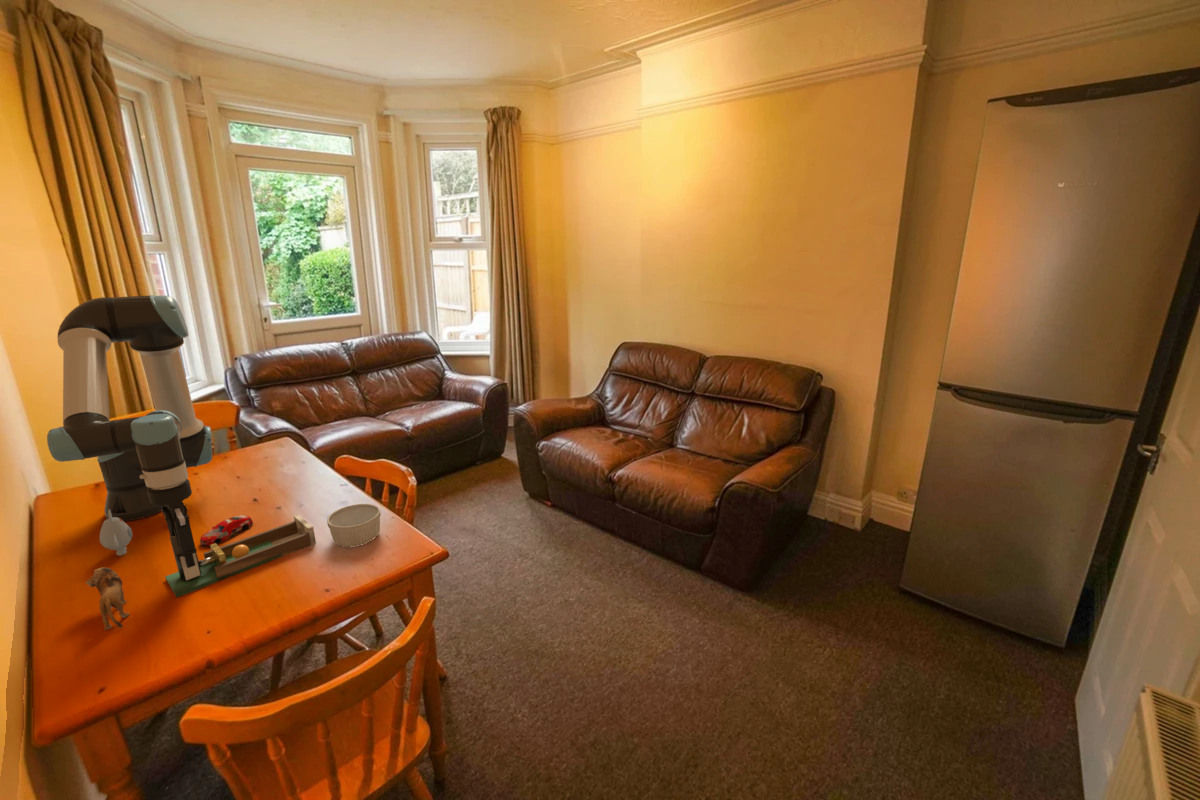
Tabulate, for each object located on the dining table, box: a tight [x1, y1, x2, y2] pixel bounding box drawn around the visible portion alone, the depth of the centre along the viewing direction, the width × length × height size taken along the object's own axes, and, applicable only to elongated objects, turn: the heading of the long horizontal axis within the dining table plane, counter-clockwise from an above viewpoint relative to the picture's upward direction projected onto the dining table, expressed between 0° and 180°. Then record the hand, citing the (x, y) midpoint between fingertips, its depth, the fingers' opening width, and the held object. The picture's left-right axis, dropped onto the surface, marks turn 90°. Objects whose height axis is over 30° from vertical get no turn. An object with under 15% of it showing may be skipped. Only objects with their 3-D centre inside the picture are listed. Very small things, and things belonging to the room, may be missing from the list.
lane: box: [165, 514, 317, 598], centre depth 133 cm, size 10×30×5 cm, turn 139°
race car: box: [199, 514, 254, 547], centre depth 145 cm, size 13×5×4 cm, turn 158°
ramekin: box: [326, 503, 382, 548], centre depth 144 cm, size 13×13×7 cm
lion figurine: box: [85, 566, 130, 631], centre depth 113 cm, size 15×5×9 cm, turn 51°
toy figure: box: [99, 510, 133, 557], centre depth 135 cm, size 11×6×12 cm, turn 41°
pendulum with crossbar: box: [169, 534, 227, 581], centre depth 126 cm, size 7×9×11 cm
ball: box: [232, 545, 249, 559], centre depth 133 cm, size 4×4×4 cm
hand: (190, 572), depth 125 cm, fingers closed on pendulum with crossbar, 4 cm apart
